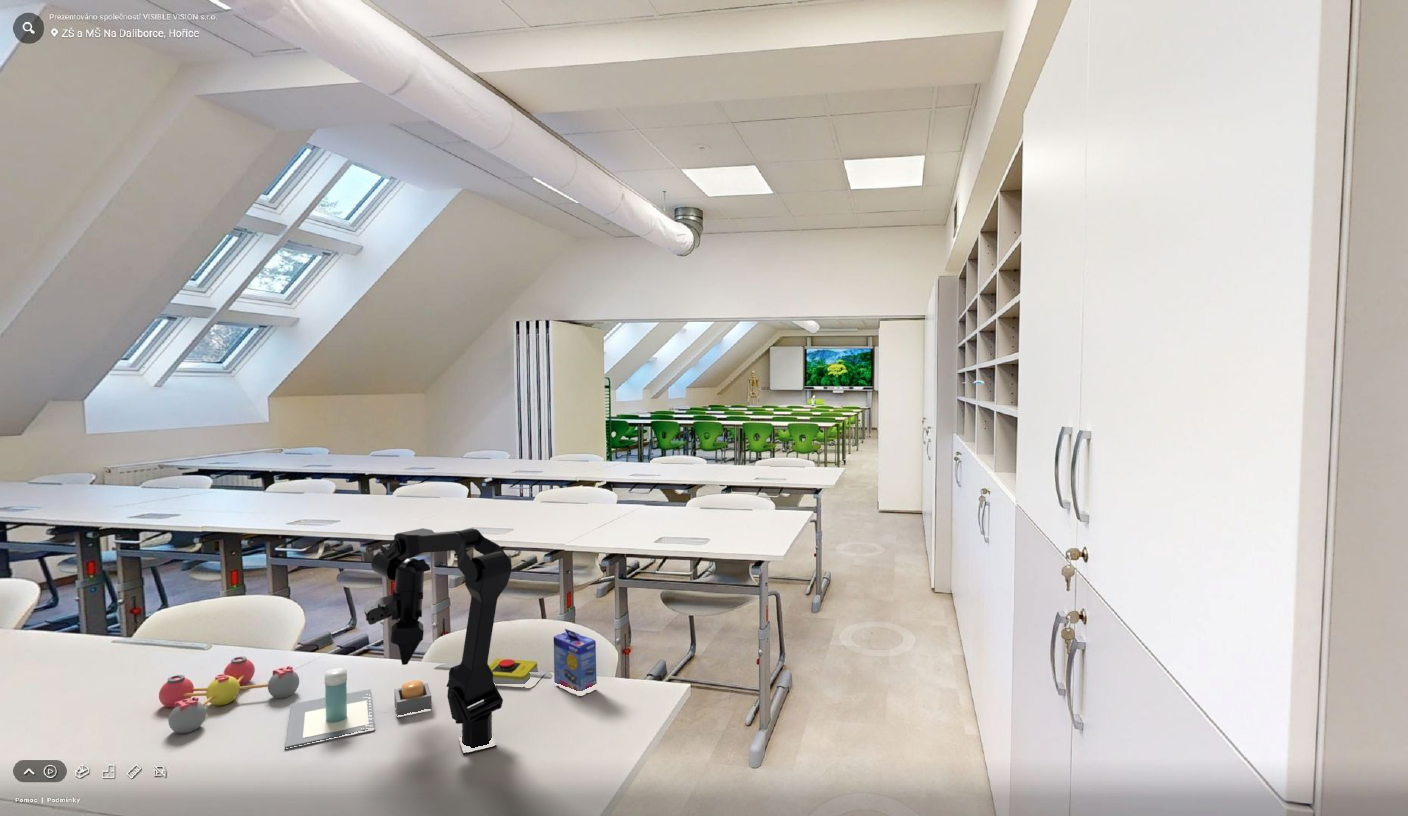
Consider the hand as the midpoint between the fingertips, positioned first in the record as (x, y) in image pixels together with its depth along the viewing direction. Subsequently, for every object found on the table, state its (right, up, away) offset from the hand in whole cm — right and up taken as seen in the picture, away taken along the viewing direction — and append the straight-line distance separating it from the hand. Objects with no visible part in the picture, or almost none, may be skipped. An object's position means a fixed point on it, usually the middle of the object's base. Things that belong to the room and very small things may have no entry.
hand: (404, 654), depth 151 cm
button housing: (+1, -13, +2) cm, 13 cm away
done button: (+1, -10, +1) cm, 10 cm away
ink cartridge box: (+35, -13, +12) cm, 39 cm away
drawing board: (-14, -13, -3) cm, 19 cm away
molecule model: (-42, -13, +3) cm, 44 cm away
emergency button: (+19, -13, +17) cm, 28 cm away
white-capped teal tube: (-13, -12, -5) cm, 18 cm away
